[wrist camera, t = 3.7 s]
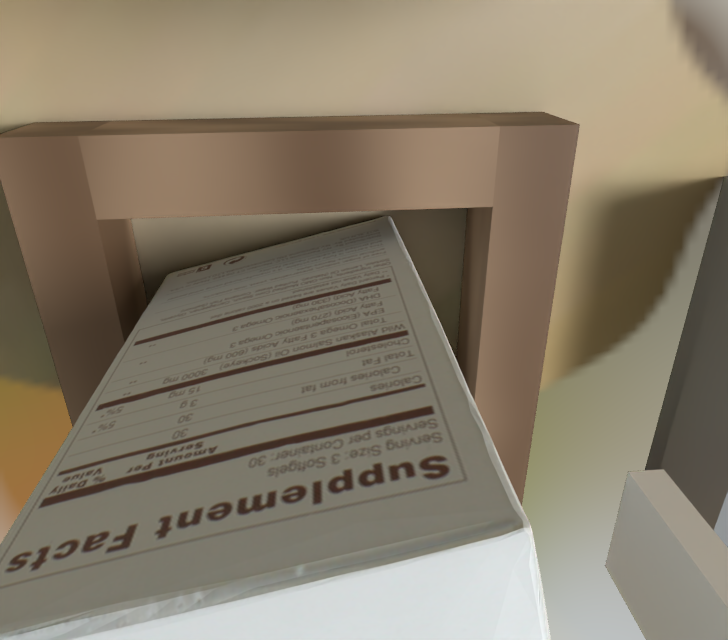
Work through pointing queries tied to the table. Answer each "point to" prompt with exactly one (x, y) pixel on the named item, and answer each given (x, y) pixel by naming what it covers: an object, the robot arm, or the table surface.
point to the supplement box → (279, 470)
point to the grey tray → (701, 389)
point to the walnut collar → (299, 195)
